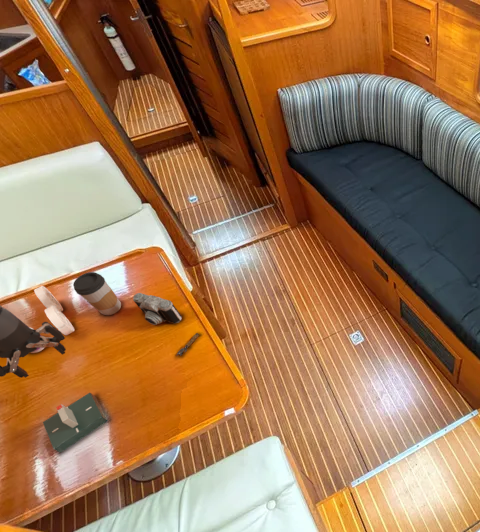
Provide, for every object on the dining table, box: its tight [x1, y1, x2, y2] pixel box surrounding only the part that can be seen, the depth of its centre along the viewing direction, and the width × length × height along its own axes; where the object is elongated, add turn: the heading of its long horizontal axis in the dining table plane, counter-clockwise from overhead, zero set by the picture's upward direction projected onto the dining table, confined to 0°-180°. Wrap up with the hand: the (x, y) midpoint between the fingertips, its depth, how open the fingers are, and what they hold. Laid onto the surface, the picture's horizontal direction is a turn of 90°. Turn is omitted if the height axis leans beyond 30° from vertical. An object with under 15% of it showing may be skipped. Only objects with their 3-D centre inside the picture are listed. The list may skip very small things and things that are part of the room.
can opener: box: [176, 332, 200, 357], centre depth 126 cm, size 9×2×1 cm, turn 151°
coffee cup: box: [72, 271, 122, 316], centre depth 131 cm, size 8×8×15 cm
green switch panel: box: [42, 392, 109, 453], centre depth 109 cm, size 12×10×3 cm
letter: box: [33, 285, 75, 336], centre depth 130 cm, size 22×2×10 cm, turn 46°
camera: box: [132, 292, 183, 326], centre depth 130 cm, size 15×7×10 cm, turn 72°
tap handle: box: [55, 403, 78, 428], centre depth 106 cm, size 6×1×5 cm, turn 45°
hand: (44, 363), depth 102 cm, fingers open, 8 cm apart
